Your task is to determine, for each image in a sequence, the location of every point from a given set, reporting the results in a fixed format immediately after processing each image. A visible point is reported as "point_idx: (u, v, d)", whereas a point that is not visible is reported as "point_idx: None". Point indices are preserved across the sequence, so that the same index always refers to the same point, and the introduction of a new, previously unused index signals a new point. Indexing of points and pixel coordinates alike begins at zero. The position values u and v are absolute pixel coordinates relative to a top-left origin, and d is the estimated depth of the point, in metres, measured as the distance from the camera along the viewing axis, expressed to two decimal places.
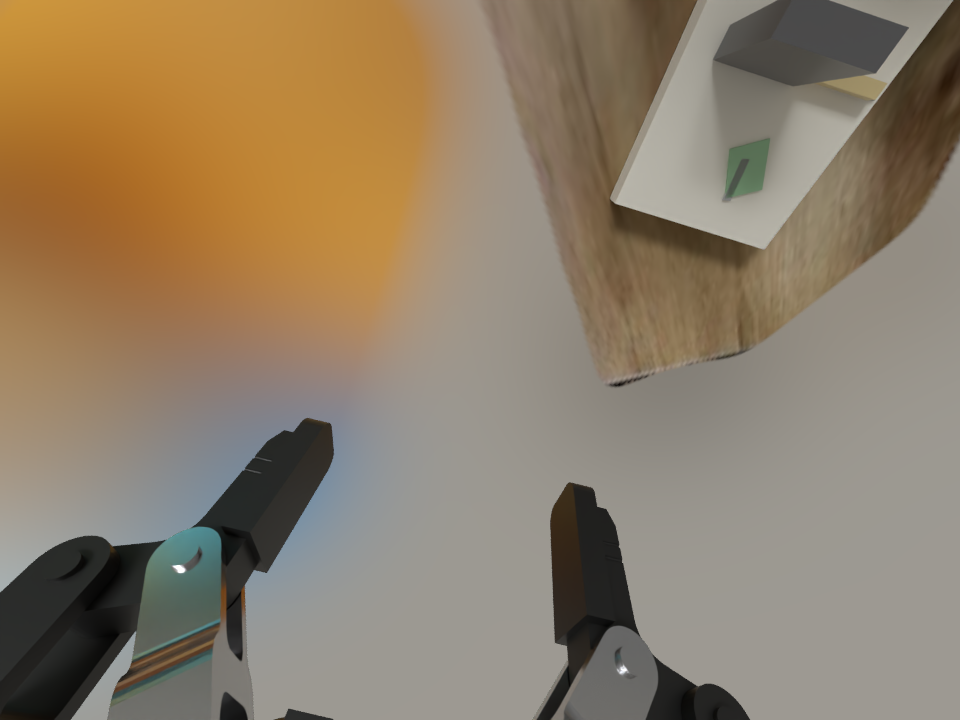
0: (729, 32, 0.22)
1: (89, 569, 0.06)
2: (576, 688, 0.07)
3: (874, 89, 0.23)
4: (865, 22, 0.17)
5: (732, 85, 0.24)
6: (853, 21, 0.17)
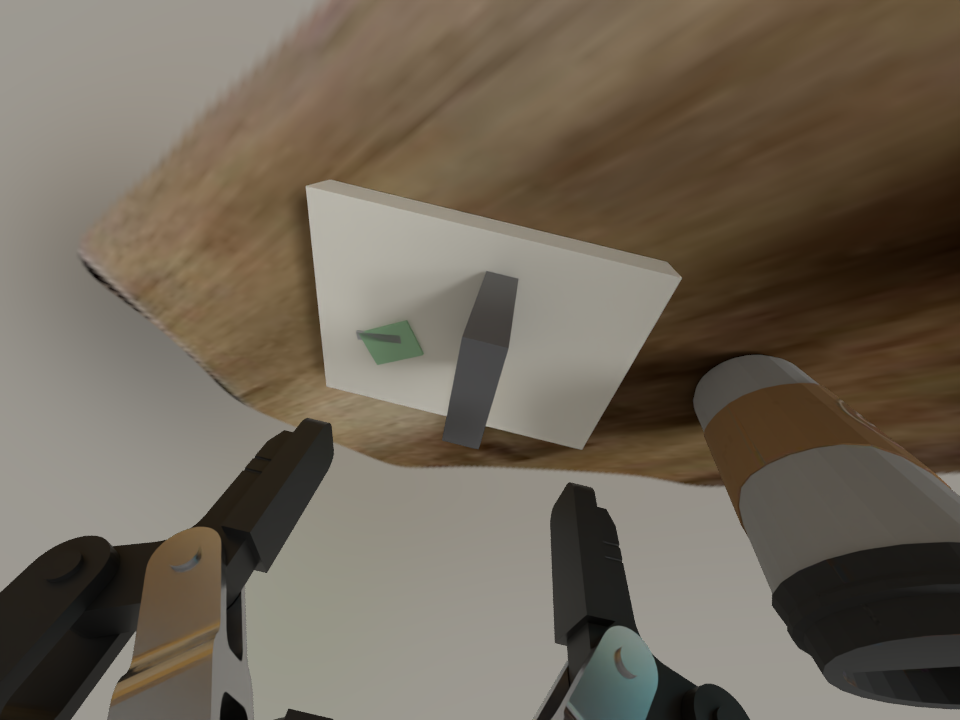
0: (508, 280, 0.18)
1: (89, 569, 0.06)
2: (576, 688, 0.07)
3: None
4: (480, 418, 0.15)
5: (465, 301, 0.20)
6: (481, 408, 0.15)
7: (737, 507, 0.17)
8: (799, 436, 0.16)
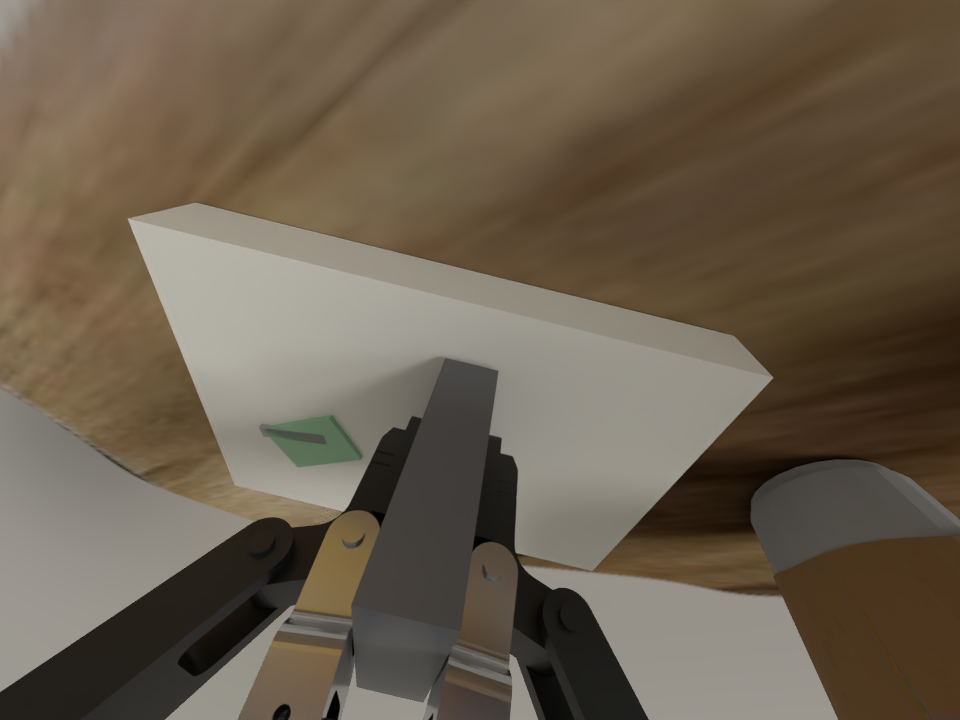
0: (481, 378, 0.11)
1: (279, 547, 0.07)
2: None
3: None
4: (419, 682, 0.08)
5: (417, 395, 0.13)
6: (417, 675, 0.07)
7: None
8: None
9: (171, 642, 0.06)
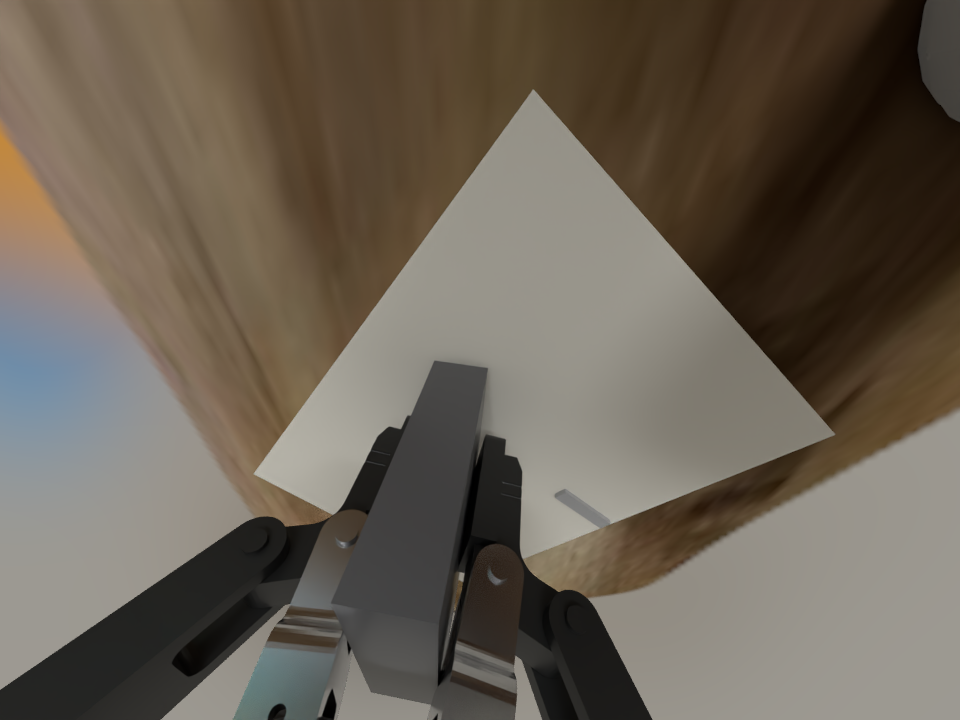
0: (469, 377, 0.11)
1: (273, 545, 0.07)
2: (461, 622, 0.07)
3: None
4: (424, 683, 0.08)
5: None
6: (420, 676, 0.07)
7: None
8: None
9: (165, 643, 0.06)
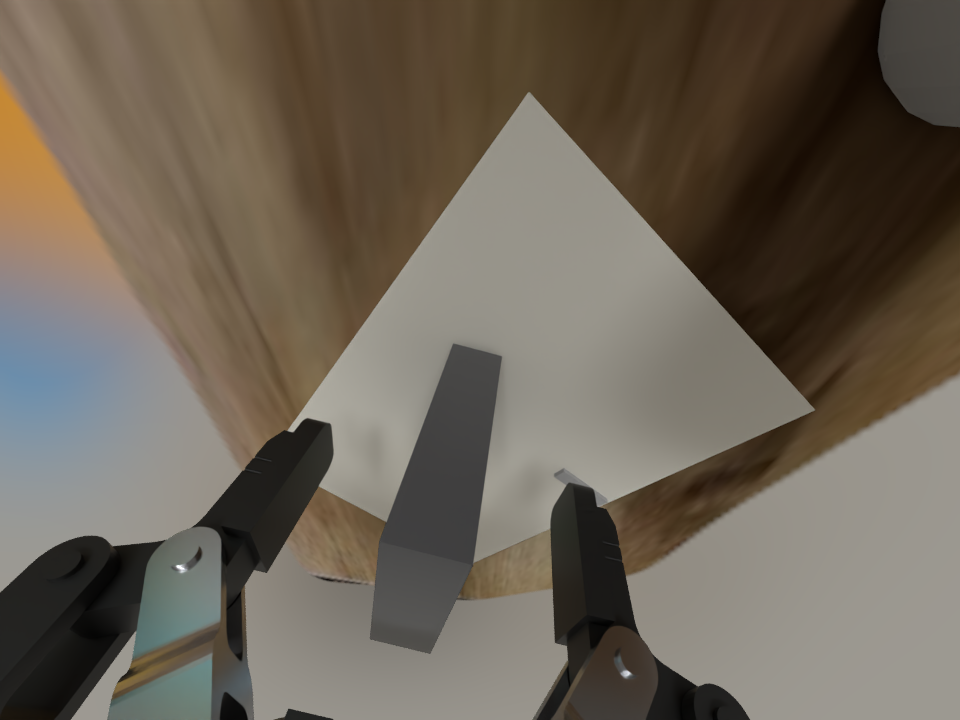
0: (486, 362, 0.11)
1: (89, 569, 0.06)
2: (576, 688, 0.07)
3: None
4: (429, 628, 0.09)
5: (425, 415, 0.15)
6: (429, 619, 0.08)
7: None
8: None
9: None
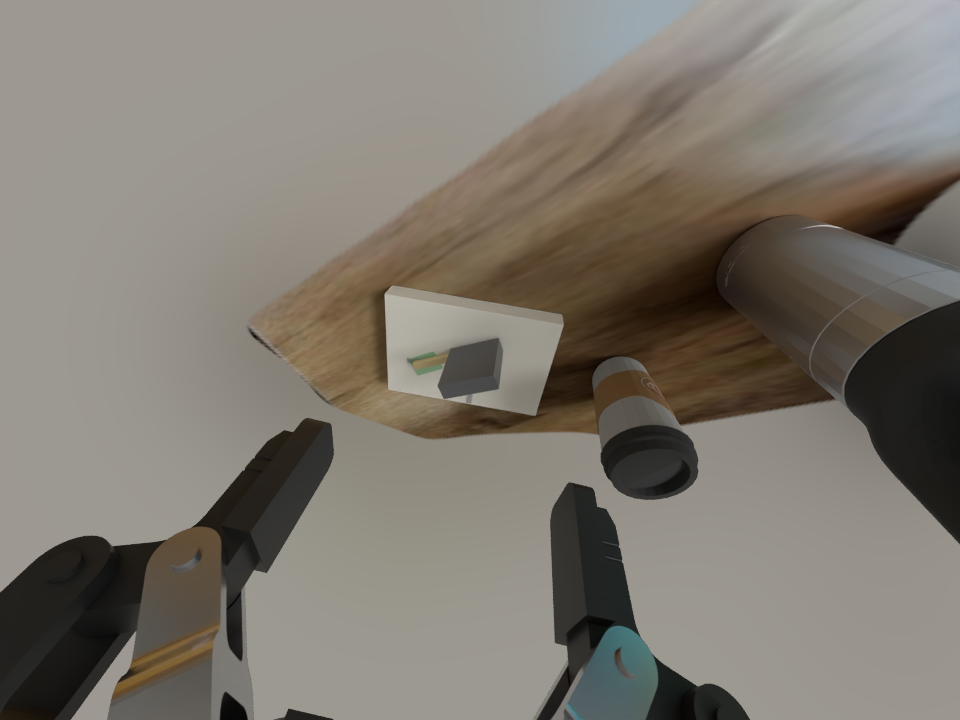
0: (501, 350, 0.38)
1: (89, 569, 0.06)
2: (576, 688, 0.07)
3: (417, 366, 0.41)
4: (461, 393, 0.34)
5: (463, 340, 0.39)
6: (466, 391, 0.34)
7: (598, 431, 0.37)
8: (616, 394, 0.35)
9: None
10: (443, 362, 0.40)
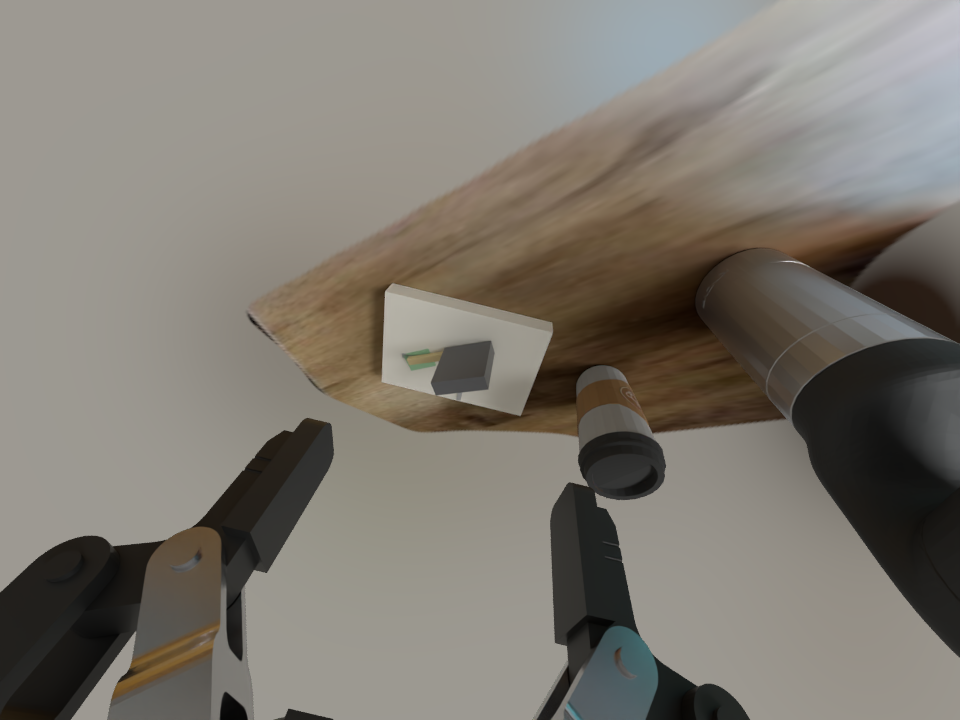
0: (493, 352, 0.41)
1: (89, 569, 0.06)
2: (576, 688, 0.07)
3: (411, 361, 0.43)
4: (452, 391, 0.36)
5: (457, 340, 0.41)
6: (457, 390, 0.36)
7: None
8: (597, 401, 0.38)
9: None
10: (437, 360, 0.42)
